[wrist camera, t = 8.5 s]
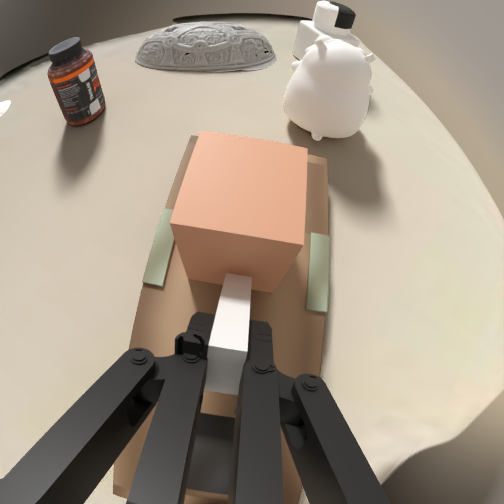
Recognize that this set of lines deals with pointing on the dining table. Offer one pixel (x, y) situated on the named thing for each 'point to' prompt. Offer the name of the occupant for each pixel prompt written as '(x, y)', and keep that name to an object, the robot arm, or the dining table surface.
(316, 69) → the figurine
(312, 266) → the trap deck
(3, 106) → the champagne flute
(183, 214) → the block
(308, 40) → the medicine bottle
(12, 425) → the dining table surface
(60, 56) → the supplement bottle
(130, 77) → the dining table surface
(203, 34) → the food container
